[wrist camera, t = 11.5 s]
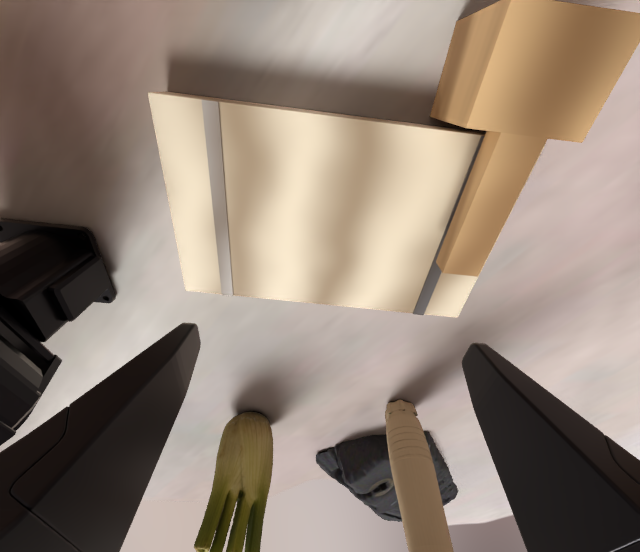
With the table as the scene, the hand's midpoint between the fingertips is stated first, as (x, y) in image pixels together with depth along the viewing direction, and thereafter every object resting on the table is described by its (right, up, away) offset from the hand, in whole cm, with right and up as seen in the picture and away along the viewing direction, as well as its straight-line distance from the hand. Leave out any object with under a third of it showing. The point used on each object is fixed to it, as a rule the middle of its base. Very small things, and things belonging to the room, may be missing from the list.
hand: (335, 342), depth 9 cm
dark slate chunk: (+10, -25, +32) cm, 42 cm away
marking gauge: (+8, +10, +7) cm, 14 cm away
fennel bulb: (-8, -15, +24) cm, 29 cm away
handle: (+8, -12, +22) cm, 26 cm away
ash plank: (0, +6, +10) cm, 12 cm away
